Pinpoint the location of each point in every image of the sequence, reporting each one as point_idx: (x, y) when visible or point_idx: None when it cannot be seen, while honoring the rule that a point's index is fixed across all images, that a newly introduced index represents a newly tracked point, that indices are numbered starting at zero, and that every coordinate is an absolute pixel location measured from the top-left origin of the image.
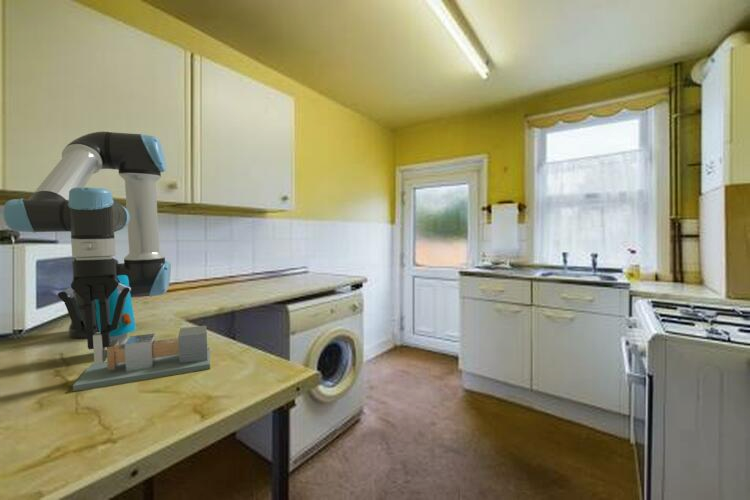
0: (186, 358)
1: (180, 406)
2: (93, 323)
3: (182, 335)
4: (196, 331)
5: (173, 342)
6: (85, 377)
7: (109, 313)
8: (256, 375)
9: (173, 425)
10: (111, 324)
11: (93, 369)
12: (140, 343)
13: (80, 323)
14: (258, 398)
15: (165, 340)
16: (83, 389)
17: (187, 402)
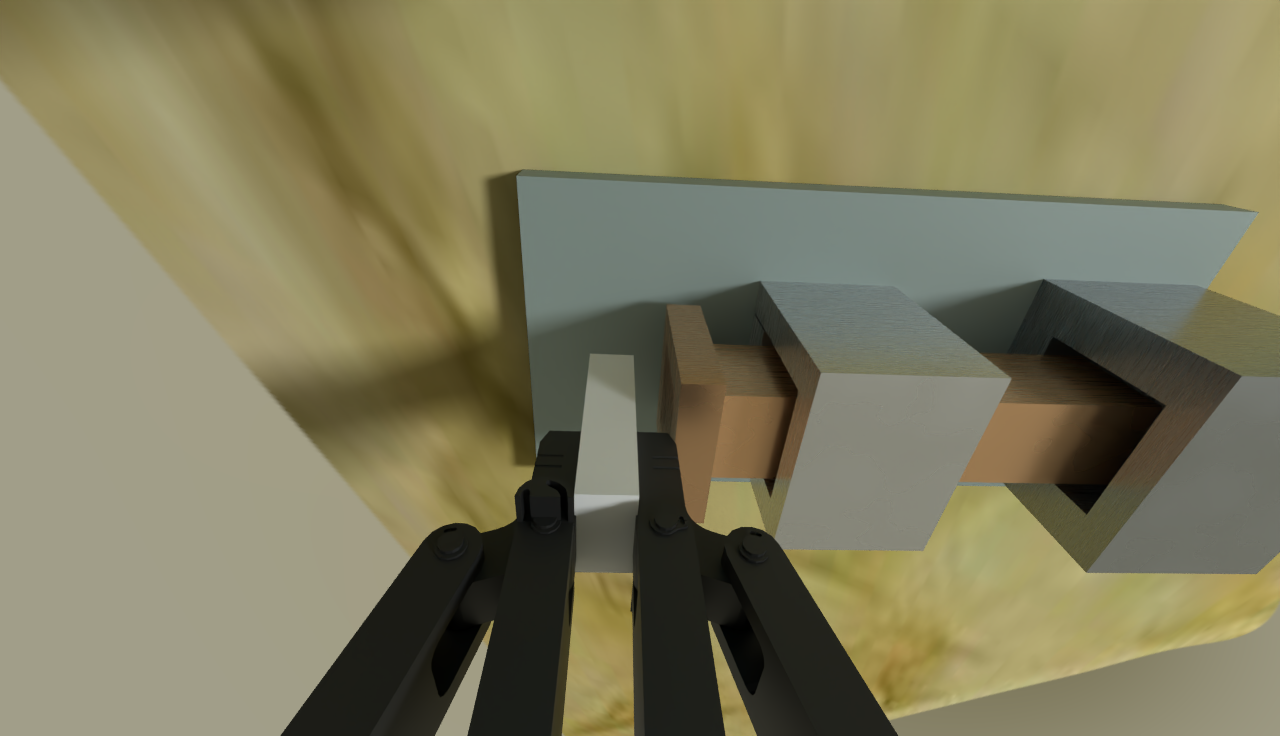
0: None
1: (858, 658)
2: (566, 658)
3: (1119, 562)
4: (1248, 517)
5: (1040, 482)
6: (559, 408)
7: (718, 693)
8: (1131, 584)
9: None
10: (722, 648)
11: (563, 305)
12: (858, 545)
13: (454, 688)
14: (1028, 684)
15: (1020, 426)
16: None
17: (879, 648)
